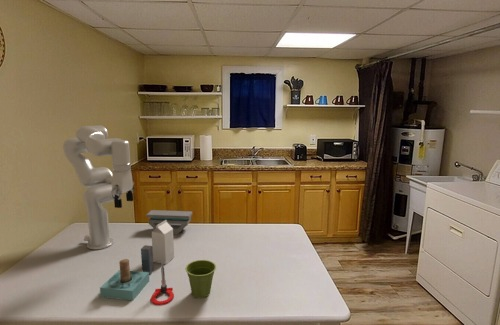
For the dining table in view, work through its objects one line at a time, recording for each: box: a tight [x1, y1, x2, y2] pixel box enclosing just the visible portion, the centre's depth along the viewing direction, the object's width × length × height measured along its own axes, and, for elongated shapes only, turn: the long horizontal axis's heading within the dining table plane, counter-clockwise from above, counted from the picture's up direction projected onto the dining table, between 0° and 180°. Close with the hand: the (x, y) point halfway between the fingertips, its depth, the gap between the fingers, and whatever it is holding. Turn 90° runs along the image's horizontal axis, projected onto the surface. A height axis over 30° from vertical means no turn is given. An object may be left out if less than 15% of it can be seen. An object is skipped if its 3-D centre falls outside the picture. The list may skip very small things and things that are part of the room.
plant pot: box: [184, 259, 217, 299], centre depth 122 cm, size 12×12×11 cm
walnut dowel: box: [118, 258, 131, 283], centre depth 125 cm, size 4×4×12 cm
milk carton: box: [151, 220, 175, 265], centre depth 148 cm, size 7×7×19 cm
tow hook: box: [150, 262, 175, 306], centre depth 119 cm, size 8×13×9 cm
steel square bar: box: [140, 244, 155, 276], centre depth 137 cm, size 4×4×12 cm
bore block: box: [99, 269, 150, 301], centre depth 126 cm, size 13×13×4 cm
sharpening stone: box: [146, 209, 193, 235], centre depth 183 cm, size 25×8×11 cm, turn 86°
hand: (124, 204), depth 143 cm, fingers open, 9 cm apart
